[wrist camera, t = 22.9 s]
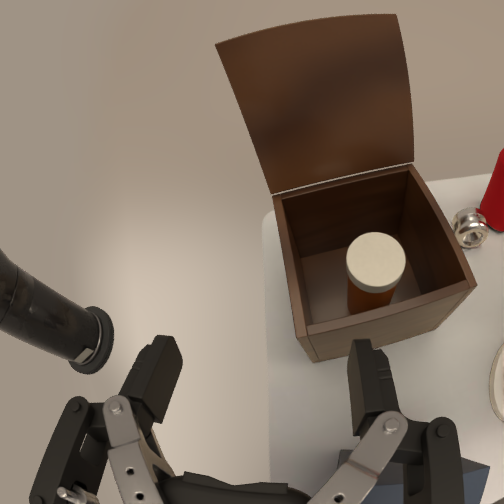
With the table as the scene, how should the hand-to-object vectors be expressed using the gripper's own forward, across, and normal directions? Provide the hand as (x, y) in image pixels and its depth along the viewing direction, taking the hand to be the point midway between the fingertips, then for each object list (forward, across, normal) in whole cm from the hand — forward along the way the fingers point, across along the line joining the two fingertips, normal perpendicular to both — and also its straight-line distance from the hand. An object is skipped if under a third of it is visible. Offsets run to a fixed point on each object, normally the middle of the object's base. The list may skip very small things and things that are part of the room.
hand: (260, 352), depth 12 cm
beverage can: (+23, -32, +4) cm, 40 cm away
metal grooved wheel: (+21, -25, +6) cm, 33 cm away
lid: (+15, -5, -10) cm, 19 cm away
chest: (+17, -9, +11) cm, 22 cm away
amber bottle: (+15, -10, +11) cm, 21 cm away
